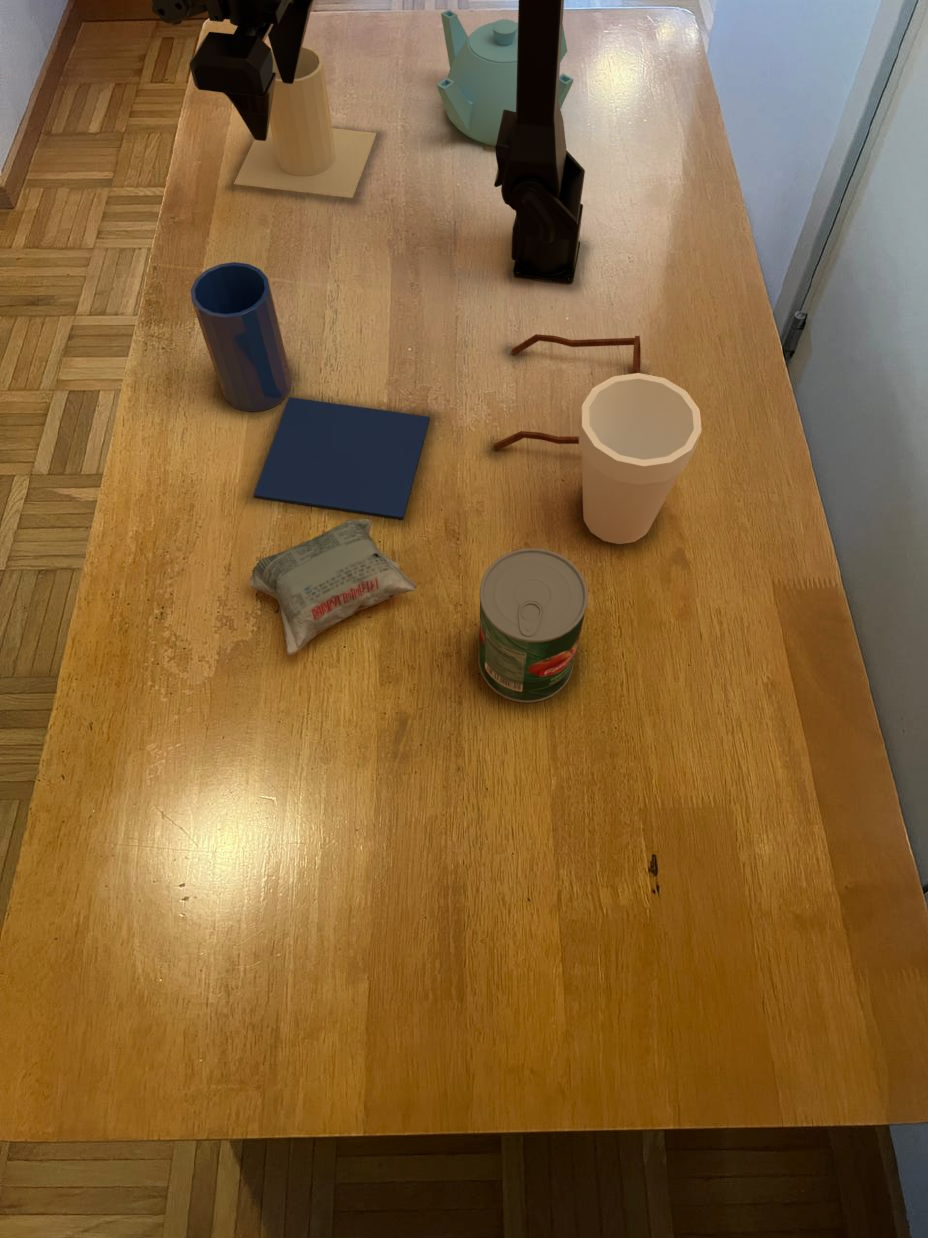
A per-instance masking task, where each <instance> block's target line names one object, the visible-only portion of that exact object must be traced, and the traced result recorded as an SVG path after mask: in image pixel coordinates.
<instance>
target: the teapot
mask: <svg viewBox="0 0 928 1238" xmlns="http://www.w3.org/2000/svg"><path fill="white" fill-rule="evenodd" d="M440 17H441V23H442V30H443V35H444V40H445V46H446V47H445V48H446V52H447V60H448V64H449V65H448V66H449V70H448V71H449V72H448V74H447V77H445V78H444V79H442V80H441V81H439V82H438V83H437V84H436V88H437V90H438V94H439V97H440V99H441V101H442V103H443V106H444V109H445V113H446V115H447V117H448V120H449V121H450V122H451V123H452V124H453V125H454V126H455V128H457V130H459V131H460V132H461V133H462V134H463V135H465V136H466V137H468V138H469V139H471V140H474V141H476V142H478V143H481V144H484V145H485V146H488V147H489V146H490V147H495V146H496V141H497V137H498V132H499V128H500V123H501V118H502V114H503V110H504V109H505V110H509V111H513V112H516V89H517V47H518V22H516V21H514V20H511V19H508V18H507V19H505V18H503V19H499V20H496V21H493V22H489V23H485V24H483V25H481V26H479V27H477V28H476V29H474V30H473V31H472V32H471V33H470V34H469V35H468V34H467V32H466V30H465V28H464V27H463V24H462V23H461V21H460V18H459V17H458V14H457V13H456V12H454V11H452V10H451V9H447V10H445V11H443V12H441V13H440ZM567 52H568V47H567V40H566V36H565V29H564V24H563V25H562V41H561V56H560V63H561V62H562V61H563V59H564V57H565V56H566V54H567ZM573 84H574V78H573V77H570V76H569V75H568V74H566V73H561V74H559V88H558V102H559V106H560V110H562V107H563V104H564V102H565V100H566V98H567V96H568V94H569V92H570V91H571V87H572V86H573Z"/></svg>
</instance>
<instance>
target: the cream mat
mask: <svg viewBox="0 0 928 1238" xmlns="http://www.w3.org/2000/svg"><path fill="white" fill-rule="evenodd" d="M332 130H333V138H334V145H335V155H336V157H335V161H334V163H333V164H332V166H331V167H330V168H328V169H327V170H326V171H324V172H322V173H319V174H316V175H312V176H296V175H292V174H289V173H287V172H285V171H284V170H282V169H281V168H280V166H279V165H278V162H277V157H276V152H275V147H274V142H273V137H272V132H271V127H270V122H269V129H268V135H267V139H266V141H259V140H255V139H253V142H252V143H251V146H250V148H249V150H248V153H247V154H246V156H245V159H244V161H243V163H242V165H241V167H240V168H239V171H238V174H237V176H236V177H235V180H234V181H233V185H239V186H247V187H255V188H265V189H271V190H272V189H273V190H280V191H281V190H282V191H290V192H297V193H305V194H315V195H324V196H332V197H340V198H348V199H353V198H354V195H355V193H356V190H357V187H358V184H359V183H360V179H361V176H362V174H363V171H364V169H365V166H366V163H367V161H368V158H369V156H370V152H371V149H372V147H373V145H374V141H375V138H376V136H377V132H371V131H370V132H369V131H362V130H352V129H343V128H334V127H332Z"/></svg>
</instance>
